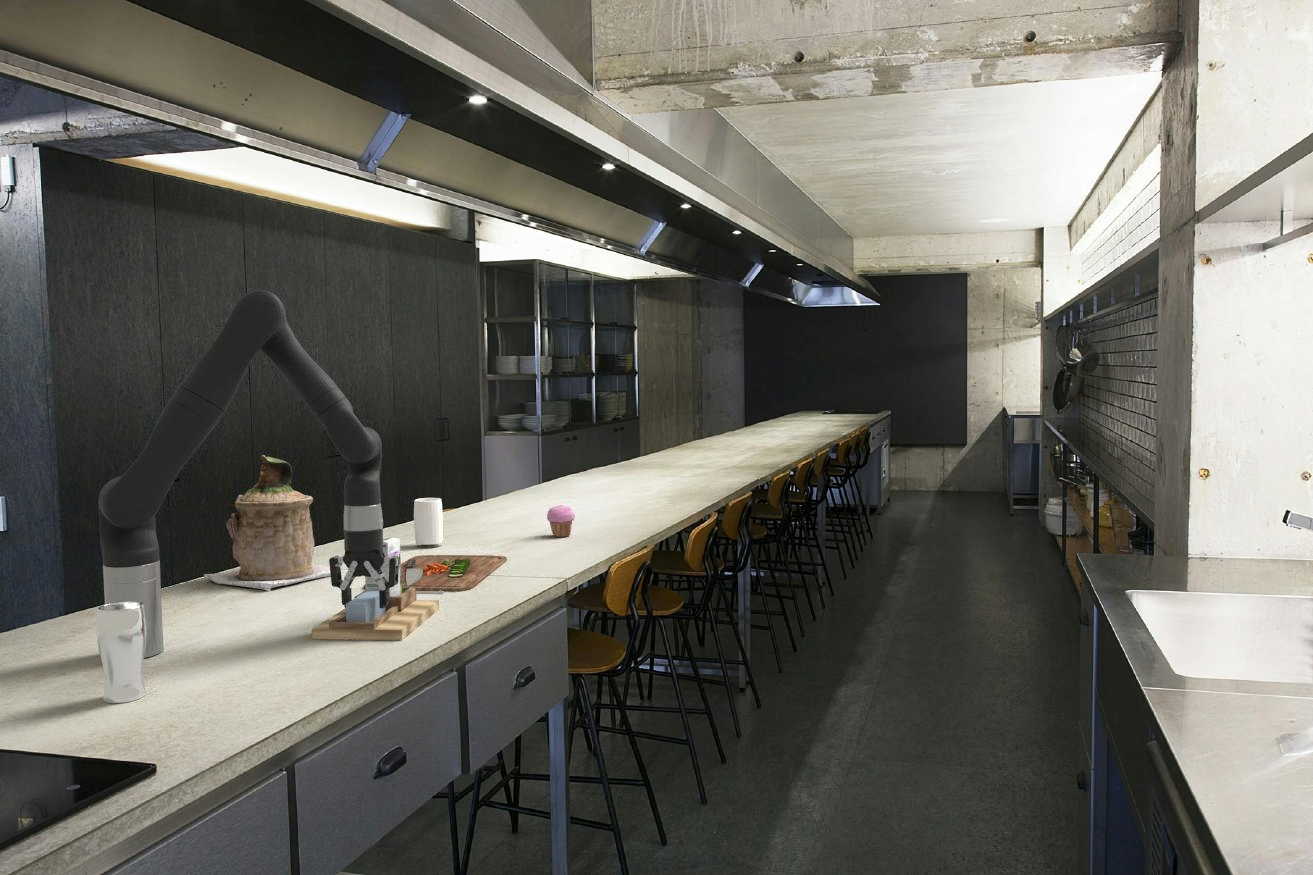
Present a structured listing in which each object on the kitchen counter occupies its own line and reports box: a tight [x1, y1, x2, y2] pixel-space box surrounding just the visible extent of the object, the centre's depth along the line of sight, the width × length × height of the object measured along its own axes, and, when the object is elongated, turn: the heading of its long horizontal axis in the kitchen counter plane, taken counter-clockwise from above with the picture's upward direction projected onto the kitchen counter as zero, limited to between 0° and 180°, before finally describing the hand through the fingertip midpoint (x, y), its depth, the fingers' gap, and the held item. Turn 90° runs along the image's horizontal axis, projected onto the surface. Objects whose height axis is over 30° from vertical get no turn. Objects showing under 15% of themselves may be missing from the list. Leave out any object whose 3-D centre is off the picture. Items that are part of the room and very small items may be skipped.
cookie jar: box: [203, 454, 342, 592], centre depth 241 cm, size 25×25×32 cm
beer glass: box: [96, 601, 147, 704], centre depth 152 cm, size 7×7×15 cm
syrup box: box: [364, 536, 402, 596], centre depth 203 cm, size 6×6×14 cm
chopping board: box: [363, 554, 508, 595], centre depth 246 cm, size 45×27×3 cm, turn 175°
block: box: [346, 591, 386, 622], centre depth 192 cm, size 11×4×4 cm, turn 176°
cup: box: [413, 497, 444, 545], centre depth 284 cm, size 8×8×14 cm
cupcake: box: [546, 504, 576, 538], centre depth 299 cm, size 9×9×10 cm
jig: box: [311, 587, 440, 641], centre depth 197 cm, size 24×18×5 cm
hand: (365, 607), depth 192 cm, fingers open, 6 cm apart
